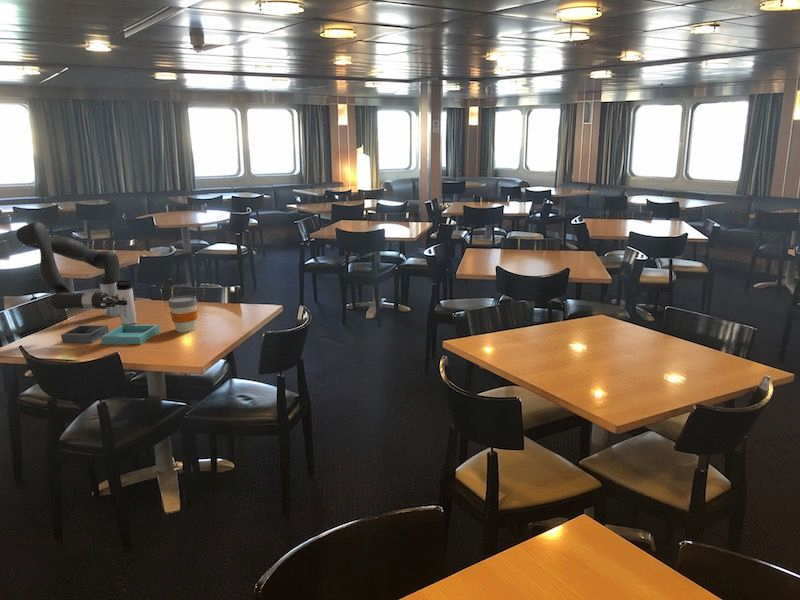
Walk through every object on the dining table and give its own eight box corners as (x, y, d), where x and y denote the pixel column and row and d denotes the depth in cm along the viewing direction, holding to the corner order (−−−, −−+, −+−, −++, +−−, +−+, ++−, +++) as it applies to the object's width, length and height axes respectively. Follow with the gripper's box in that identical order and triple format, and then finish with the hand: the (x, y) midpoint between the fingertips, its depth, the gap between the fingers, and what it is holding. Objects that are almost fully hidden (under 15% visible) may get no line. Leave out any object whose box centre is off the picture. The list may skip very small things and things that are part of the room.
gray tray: (81, 333, 291) (79, 325, 290) (109, 333, 289) (107, 325, 288) (62, 342, 277) (60, 334, 276) (91, 343, 276) (90, 334, 275)
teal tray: (123, 332, 291) (122, 324, 290) (160, 332, 289) (159, 324, 288) (101, 344, 273) (100, 337, 273) (140, 344, 272) (139, 337, 271)
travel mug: (130, 321, 284) (124, 279, 279) (139, 323, 280) (134, 280, 275) (118, 325, 278) (112, 281, 273) (127, 327, 275) (121, 283, 270)
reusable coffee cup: (191, 334, 284) (187, 302, 280) (166, 333, 287) (162, 302, 283) (205, 326, 296) (201, 295, 292) (181, 325, 299) (177, 295, 295)
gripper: (84, 296, 270) (121, 296, 268) (103, 288, 284) (138, 288, 282) (87, 312, 272) (123, 313, 270) (105, 304, 286) (140, 304, 284)
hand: (130, 300), depth 276 cm, fingers closed on travel mug, 6 cm apart
